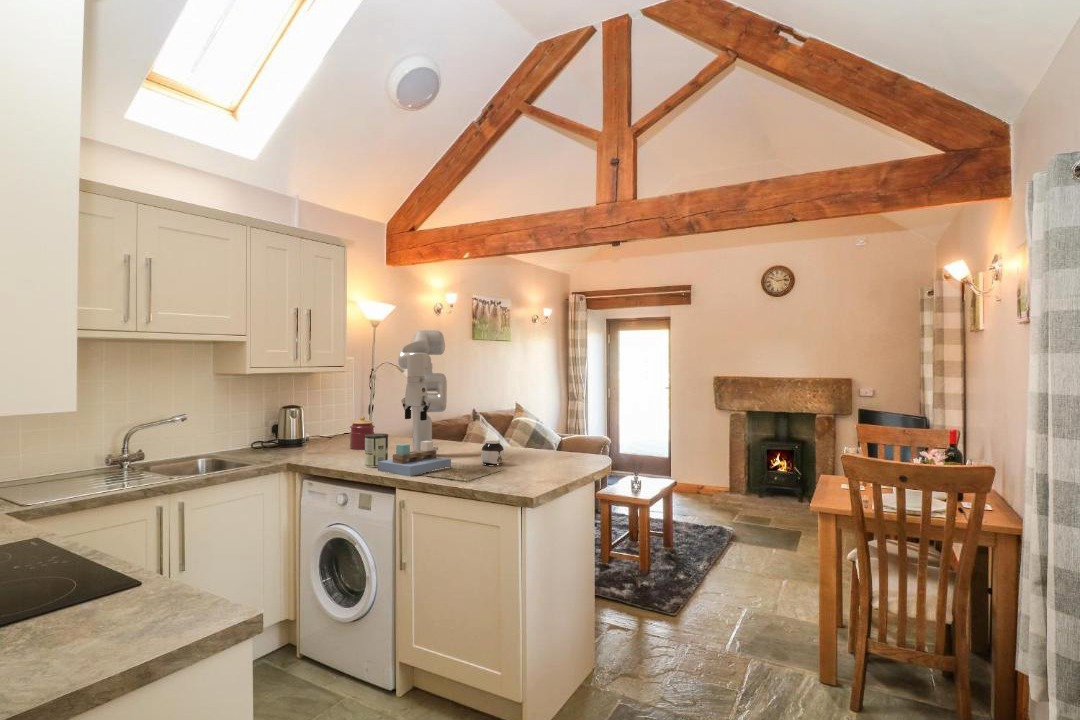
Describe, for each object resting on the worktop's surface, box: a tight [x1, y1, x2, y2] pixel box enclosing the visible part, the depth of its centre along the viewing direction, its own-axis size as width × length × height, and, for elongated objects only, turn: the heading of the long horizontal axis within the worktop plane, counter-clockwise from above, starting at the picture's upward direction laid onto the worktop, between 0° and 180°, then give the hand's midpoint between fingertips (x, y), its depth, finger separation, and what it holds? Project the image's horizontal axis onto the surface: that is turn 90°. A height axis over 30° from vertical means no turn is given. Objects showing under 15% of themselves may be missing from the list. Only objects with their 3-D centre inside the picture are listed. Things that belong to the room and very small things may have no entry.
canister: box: [349, 415, 376, 450], centre depth 311 cm, size 13×13×18 cm
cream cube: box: [420, 440, 434, 451], centre depth 253 cm, size 4×4×4 cm
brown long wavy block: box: [392, 450, 437, 464], centre depth 247 cm, size 20×6×4 cm, turn 145°
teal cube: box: [395, 443, 411, 455], centre depth 241 cm, size 4×4×4 cm
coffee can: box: [364, 433, 389, 468], centre depth 256 cm, size 10×10×14 cm
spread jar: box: [480, 438, 505, 466], centre depth 262 cm, size 12×11×12 cm
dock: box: [377, 456, 452, 477], centre depth 247 cm, size 24×20×4 cm
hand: (415, 419), depth 247 cm, fingers open, 9 cm apart
